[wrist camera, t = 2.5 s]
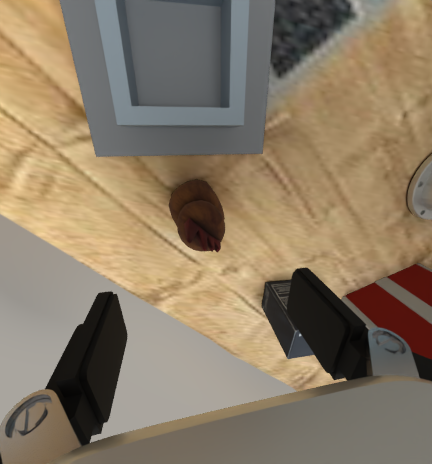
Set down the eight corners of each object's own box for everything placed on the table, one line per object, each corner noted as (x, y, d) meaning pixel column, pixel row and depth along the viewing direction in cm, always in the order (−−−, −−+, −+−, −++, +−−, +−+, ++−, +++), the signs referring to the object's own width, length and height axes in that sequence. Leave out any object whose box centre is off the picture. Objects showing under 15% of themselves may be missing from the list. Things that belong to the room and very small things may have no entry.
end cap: (275, -46, 20) (307, -107, 15) (259, 153, 27) (277, 156, 22) (46, -77, 17) (-9, -165, 12) (99, 155, 24) (79, 160, 19)
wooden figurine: (162, 188, 27) (147, 238, 14) (201, 167, 27) (224, 197, 13) (188, 229, 30) (196, 302, 17) (223, 210, 30) (259, 269, 16)
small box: (260, 308, 40) (286, 362, 30) (264, 281, 37) (294, 330, 27) (310, 303, 41) (349, 352, 32) (318, 276, 39) (363, 321, 29)
